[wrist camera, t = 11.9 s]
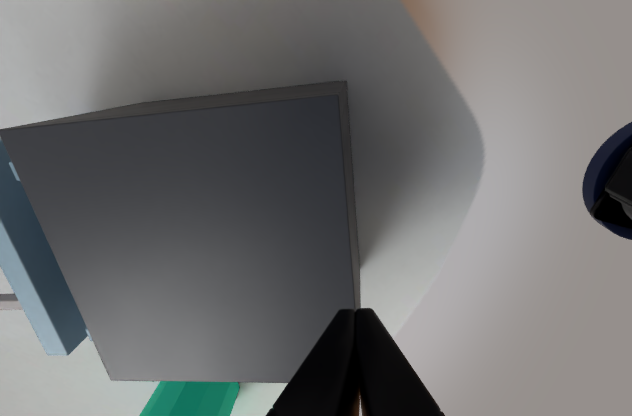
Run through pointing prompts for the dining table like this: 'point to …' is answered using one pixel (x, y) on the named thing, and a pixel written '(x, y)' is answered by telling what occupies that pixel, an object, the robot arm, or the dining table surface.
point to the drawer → (34, 270)
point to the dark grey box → (201, 228)
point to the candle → (192, 399)
